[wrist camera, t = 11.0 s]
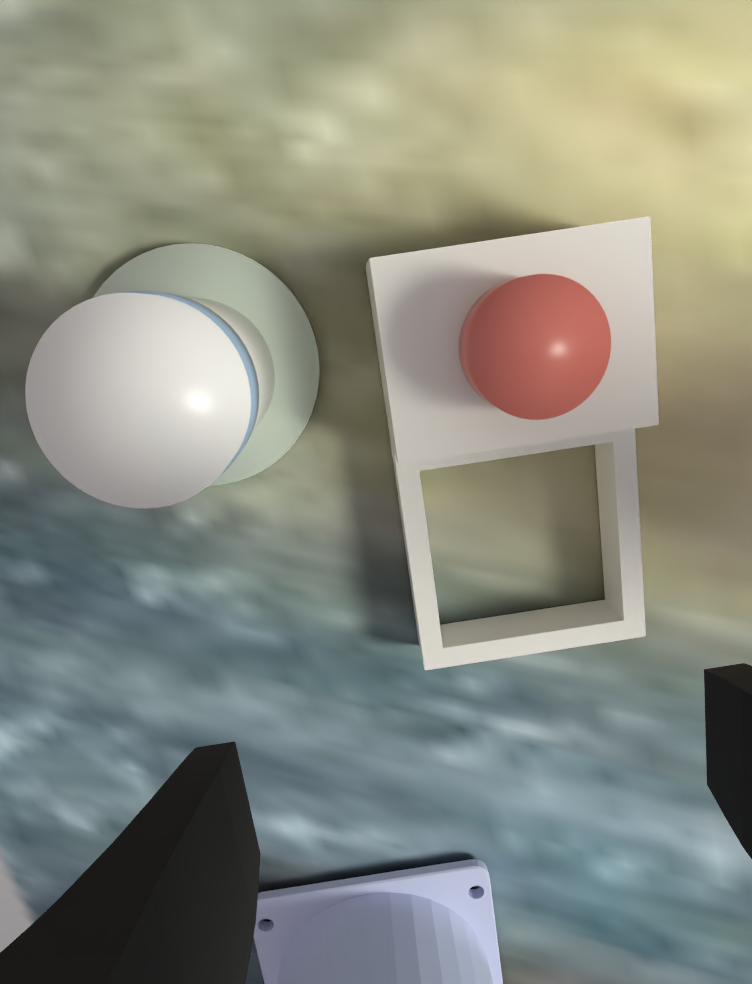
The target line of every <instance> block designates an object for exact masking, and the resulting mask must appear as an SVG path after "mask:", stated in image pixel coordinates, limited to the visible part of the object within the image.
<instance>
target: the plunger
mask: <svg viewBox="0 0 752 984" xmlns="http://www.w3.org/2000/svg"><path fill="white" fill-rule="evenodd" d="M610 352H611V333H610V327H609V323H608V319H607V317H606V314H605V312H604V310H603V308H602V306H601V305H600V303H599V302H598V300H597V299H596V298H595V296H594V295H593V294H592V293H591V292H590V291H589V290H588V289H586V288H585V287H584V286H582V285H581V284H579V283H578V282H576V281H574V280H572V279H569V278H566V277H564V276H560V275H555V274H534V275H529V276H524V277H518V278H514V279H509V280H507V281H504V282H501V283H499V284H497V285H495V286H493V287H492V288H490V289H489V290H487V291H486V292H485V293H484V294H483V295H482V296H480V297H479V298H478V300H477V301H476V302H475V303H474V304H473V306H472V307H471V309H470V310H469V312H468V313H467V315H466V317H465V320H464V322H463V325H462V328H461V332H460V337H459V358H460V364H461V367H462V370H463V373H464V375H465V377H466V379H467V381H468V382H469V384H470V385H471V387H472V388H473V389H474V390H475V392H476V393H477V394H478V395H480V396H481V397H482V398H483V399H485V400H486V401H488V402H489V403H491V404H492V405H494V406H495V407H497V408H499V409H500V410H502V411H504V412H506V413H508V414H510V415H512V416H515V417H518V418H523V419H529V420H542V419H549V418H554V417H557V416H560V415H563V414H565V413H567V412H569V411H571V410H573V409H574V408H576V407H577V406H579V405H580V404H582V403H583V402H584V401H585V400H586V399H587V398H588V397H589V396H590V395H591V394H592V393H593V392H594V390H595V389H596V388H597V386H598V385H599V383H600V382H601V380H602V378H603V376H604V374H605V371H606V369H607V366H608V362H609V358H610Z"/></svg>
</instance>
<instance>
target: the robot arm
mask: <svg viewBox="0 0 752 984" xmlns="http://www.w3.org/2000/svg"><path fill="white" fill-rule="evenodd" d="M704 683H705V721H706V758H707V785H708V787H709V789H710V790H711V792H712V794H713V796H714V798H715V799H716V801H717V803H718V805H719V807H720V808H721V810H722V812H723V814H724V816H725V818H726V819H727V821H728V823H729V824H730V826H731V828H732V829H733V831H734V833H735V834H736V836H737V838H738V839H739V841H740V843H741V845H742V846H743V848H744V849H745V850H746V852H747V853H748V855H749V856H750V857H751V859H752V666H750V665H747V664H744V663H743V664H736V665H730V666H723V667H717V668H710V669H704ZM259 867H260V850H259V846H258V841H257V837H256V832H255V828H254V824H253V819H252V815H251V810H250V806H249V801H248V797H247V792H246V788H245V784H244V779H243V775H242V770H241V766H240V761H239V757H238V752H237V748H236V744H235V742H229V743H223V744H216V745H210V746H203V747H197V748H195V749H194V750H193V751H192V752H191V753H190V754H189V755H188V756H187V757H186V759H185V760H184V761H183V762H182V763H181V764H180V766H179V767H178V768H177V769H176V770H175V771H174V773H173V774H172V775H171V776H170V777H169V779H168V780H167V781H166V782H165V783H164V784H163V786H162V787H161V788H160V789H159V790H158V792H157V793H156V794H155V795H154V796H153V797H152V799H151V800H150V801H149V802H148V803H147V804H146V806H145V807H144V808H143V809H142V810H141V811H140V812H139V814H138V815H137V816H136V817H135V818H134V819H133V820H132V822H131V823H130V824H129V825H128V826H127V827H126V828H125V830H124V831H123V832H122V833H121V834H120V835H119V836H118V838H117V839H116V840H115V841H114V842H113V843H112V844H111V845H110V846H109V847H108V848H107V849H106V850H105V851H104V852H103V853H102V855H101V856H100V857H99V858H98V859H97V860H96V861H95V862H94V863H93V864H92V865H91V866H90V867H89V868H88V869H87V870H86V871H85V872H84V873H83V874H82V875H81V876H80V877H79V879H78V880H77V881H76V882H75V883H74V884H73V885H72V886H71V887H70V888H69V889H68V890H67V891H66V892H65V893H64V894H63V895H62V896H61V897H60V898H59V899H58V900H57V901H56V902H55V903H54V904H53V905H52V906H51V907H50V908H49V909H48V910H47V911H46V912H45V913H44V914H43V915H42V916H41V917H39V918H38V919H37V920H36V921H35V922H34V923H33V924H32V925H31V926H30V927H29V928H28V929H27V930H25V932H23V933H22V934H21V935H20V936H19V937H18V938H16V940H14V941H13V942H12V943H11V944H10V945H9V946H8V947H6V948H5V949H4V950H3V951H2V952H1V953H0V984H245V980H246V975H247V969H248V964H249V958H250V953H251V947H252V942H253V937H254V941H255V945H256V949H257V954H258V958H259V962H260V966H261V971H262V975H263V979H264V984H503V980H502V972H501V964H500V956H499V948H498V940H497V932H496V924H495V916H494V908H493V900H492V892H491V884H490V876H489V873H488V869H487V866H486V864H485V863H483V862H482V861H480V860H477V859H470V860H463V861H457V862H451V863H444V864H438V865H431V866H425V867H419V868H412V869H406V870H399V871H393V872H387V873H380V874H374V875H367V876H361V877H354V878H348V879H342V880H335V881H329V882H322V883H316V884H310V885H303V886H297V887H290V888H284V889H278V890H271V891H265V892H260V893H258V885H259ZM473 886H480V887H479V888H477V889H470V888H471V887H473ZM262 919H270V920H272V921H269V922H266V921H263V920H262Z"/></svg>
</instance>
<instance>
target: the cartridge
mask: <svg viewBox="0 0 752 984" xmlns="http://www.w3.org/2000/svg"><path fill="white" fill-rule="evenodd" d="M274 383H275V373H274V365H273V359H272V356H271V353H270V350H269V348H268V345H267V343H266V341H265V339H264V338H263V336H262V335H261V333H260V332H259V330H258V329H257V328H256V327H255V325H254V324H253V323H252V322H251V321H250V320H249V319H248V318H246V317H245V316H244V315H243V314H241V313H240V312H239V311H237V310H235V309H234V308H232V307H230V306H228V305H226V304H223V303H220V302H218V301H214V300H210V299H202V298H191V297H183V296H179V295H175V294H169V293H161V292H150V291H130V292H123V293H113V294H107V295H101V296H98V297H95V298H92V299H88V300H86V301H84V302H82V303H80V304H78V305H75V306H74V307H72V308H71V309H69V310H68V311H66V312H65V313H63V314H62V315H61V316H60V317H59V318H58V319H57V320H55V321H54V322H53V323H52V324H51V326H50V327H49V328H48V329H47V330H46V332H45V333H44V334H43V336H42V337H41V339H40V341H39V342H38V344H37V345H36V348H35V350H34V352H33V355H32V357H31V360H30V363H29V367H28V371H27V377H26V385H25V401H26V407H27V414H28V418H29V422H30V425H31V429H32V431H33V433H34V436H35V438H36V440H37V443H38V444H39V446H40V448H41V449H42V451H43V453H44V455H45V456H46V457H47V459H48V460H49V461H50V463H51V464H52V465H53V466H54V467H55V469H56V470H57V471H58V472H59V473H60V474H61V475H62V476H63V477H64V478H66V479H67V480H68V481H69V482H70V483H72V484H73V485H74V486H76V487H77V488H79V489H80V490H82V491H83V492H85V493H87V494H89V495H91V496H93V497H95V498H97V499H99V500H102V501H105V502H108V503H110V504H114V505H118V506H123V507H129V508H140V509H142V508H158V507H164V506H169V505H173V504H176V503H179V502H182V501H184V500H187V499H189V498H191V497H193V496H195V495H196V494H198V493H200V492H201V491H203V490H204V489H206V488H207V487H208V486H209V485H211V484H212V483H213V482H214V481H215V480H216V479H217V478H218V477H219V476H220V475H222V474H223V473H224V472H225V471H226V470H227V469H228V468H229V467H230V466H231V465H232V463H233V462H234V461H235V459H236V458H237V456H238V455H239V454H240V452H241V451H242V449H243V448H244V447H245V445H246V444H247V442H248V440H249V438H250V436H251V434H252V432H253V431H254V429H255V428H256V427H257V425H258V424H259V422H260V421H261V420H262V418H263V417H264V415H265V413H266V411H267V409H268V408H269V405H270V402H271V399H272V396H273V391H274Z"/></svg>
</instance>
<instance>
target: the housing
mask: <svg viewBox="0 0 752 984" xmlns="http://www.w3.org/2000/svg"><path fill="white" fill-rule="evenodd" d="M365 267H366V274H367V281H368V288H369V295H370V303H371V310H372V317H373V324H374V331H375V338H376V345H377V352H378V359H379V366H380V373H381V380H382V387H383V394H384V401H385V408H386V415H387V422H388V429H389V436H390V443H391V451H392V458H393V465H394V472H395V479H396V486H397V493H398V500H399V507H400V514H401V521H402V528H403V535H404V542H405V549H406V556H407V563H408V570H409V577H410V584H411V591H412V599H413V606H414V613H415V620H416V627H417V634H418V641H419V647H420V652H421V656H422V660H423V665H424V669H425V670H430V669H437V668H443V667H450V666H456V665H463V664H469V663H476V662H482V661H489V660H495V659H502V658H508V657H515V656H521V655H528V654H534V653H541V652H547V651H554V650H560V649H567V648H573V647H580V646H586V645H593V644H599V643H606V642H612V641H619V640H625V639H632V638H638V637H645V636H646V630H645V611H644V592H643V573H642V553H641V534H640V515H639V495H638V476H637V457H636V438H635V429H636V428H643V427H650V426H656V425H659V410H658V387H657V364H656V341H655V317H654V294H653V271H652V248H651V224H650V216H648V217H641V218H634V219H628V220H621V221H614V222H608V223H601V224H594V225H588V226H581V227H574V228H568V229H561V230H554V231H547V232H541V233H534V234H527V235H521V236H514V237H507V238H501V239H494V240H487V241H480V242H474V243H467V244H460V245H454V246H447V247H440V248H434V249H427V250H420V251H414V252H407V253H400V254H393V255H387V256H380V257H373V258H369V260H368V262H367V264H366V266H365ZM534 274H555V275H560V276H564V277H566V278H569V279H572V280H574V281H576V282H578V283H579V284H581V285H582V286H584V287H585V288H586V289H588V290H589V291H590V292H591V293H592V294H593V295H594V296H595V298H596V299H597V300H598V302H599V303H600V305H601V306H602V308H603V310H604V312H605V314H606V317H607V319H608V323H609V327H610V333H611V352H610V358H609V362H608V366H607V369H606V371H605V374H604V376H603V378H602V380H601V382H600V383H599V385H598V386H597V388H596V389H595V390H594V392H593V393H592V394H591V395H590V396H589V397H588V398H587V399H586V400H585V401H584V402H583V403H582V404H580V405H579V406H577V407H576V408H574V409H573V410H571V411H569V412H567V413H565V414H563V415H560V416H557V417H554V418H549V419H542V420H529V419H523V418H518V417H515V416H512V415H510V414H508V413H506V412H504V411H502V410H500V409H499V408H497V407H495V406H494V405H492V404H491V403H489V402H488V401H486V400H485V399H483V398H482V397H481V396H480V395H478V394H477V393H476V392H475V390H474V389H473V388H472V387H471V385H470V384H469V382H468V381H467V379H466V377H465V375H464V373H463V370H462V367H461V364H460V358H459V337H460V332H461V328H462V325H463V322H464V320H465V317H466V315H467V313H468V312H469V310H470V309H471V307H472V306H473V304H474V303H475V302H476V301H477V300H478V298H479V297H480V296H482V295H483V294H484V293H485V292H486V291H487V290H489V289H490V288H492V287H493V286H495V285H497V284H499V283H501V282H504V281H507V280H509V279H514V278H518V277H524V276H529V275H534ZM589 445H595V458H596V473H597V488H598V503H599V518H600V533H601V548H602V563H603V578H604V592H605V600H598V601H592V602H585V603H579V604H572V605H566V606H559V607H553V608H546V609H540V610H533V611H527V612H520V613H514V614H507V615H501V616H494V617H488V618H481V619H475V620H468V621H462V622H455V623H449V624H442V625H440V622H439V614H438V607H437V599H436V592H435V584H434V576H433V569H432V561H431V554H430V546H429V539H428V531H427V524H426V516H425V509H424V501H423V493H422V486H421V478H420V471H424V470H431V469H437V468H444V467H450V466H457V465H464V464H470V463H477V462H483V461H490V460H497V459H503V458H510V457H516V456H523V455H530V454H536V453H543V452H549V451H556V450H562V449H569V448H576V447H582V446H589Z"/></svg>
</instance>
